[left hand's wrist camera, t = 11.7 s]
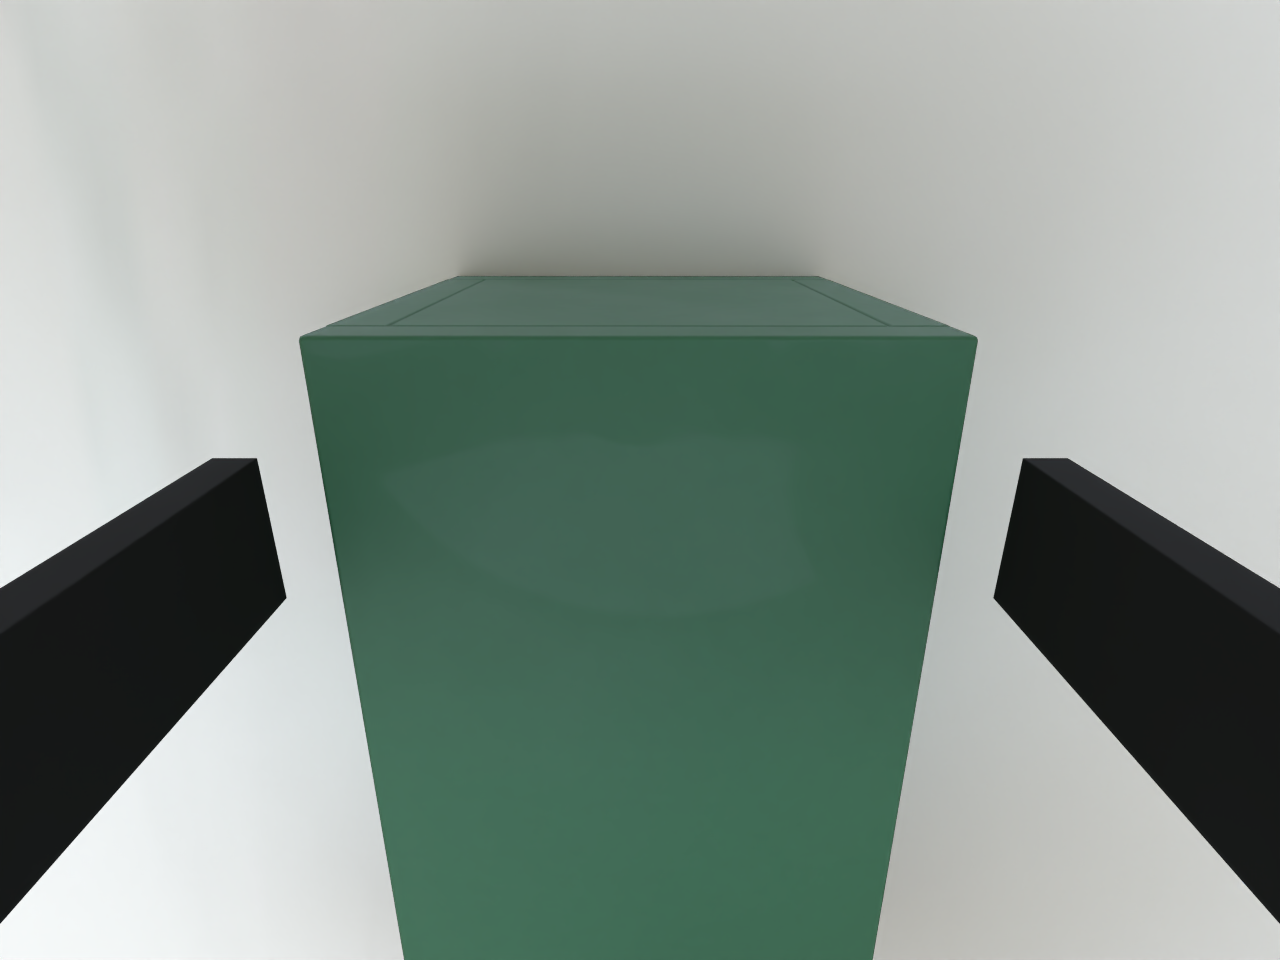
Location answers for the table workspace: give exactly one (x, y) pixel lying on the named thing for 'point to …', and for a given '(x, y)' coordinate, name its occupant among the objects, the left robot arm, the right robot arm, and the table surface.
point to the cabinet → (638, 603)
